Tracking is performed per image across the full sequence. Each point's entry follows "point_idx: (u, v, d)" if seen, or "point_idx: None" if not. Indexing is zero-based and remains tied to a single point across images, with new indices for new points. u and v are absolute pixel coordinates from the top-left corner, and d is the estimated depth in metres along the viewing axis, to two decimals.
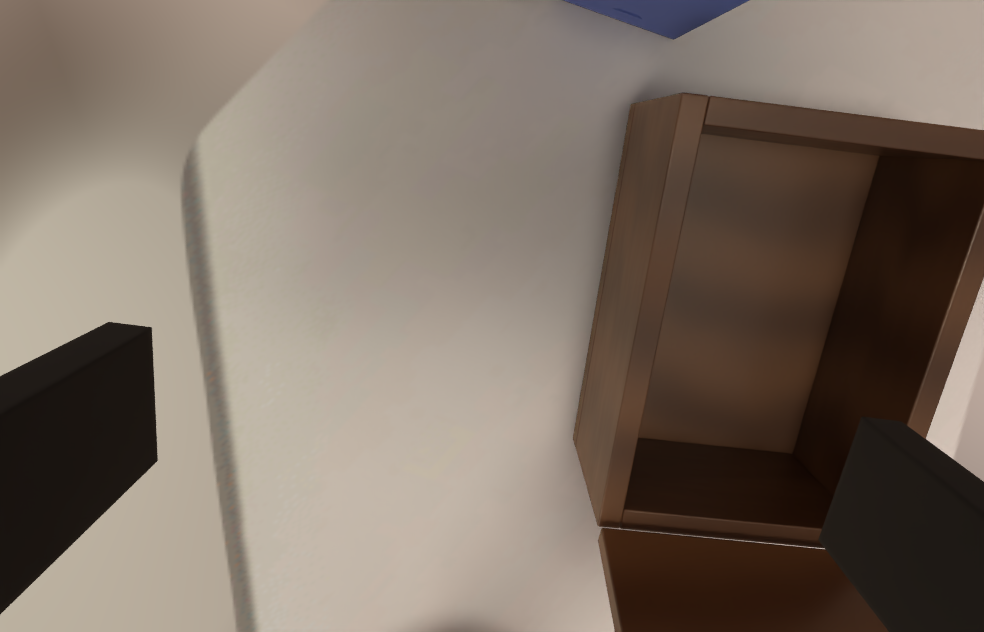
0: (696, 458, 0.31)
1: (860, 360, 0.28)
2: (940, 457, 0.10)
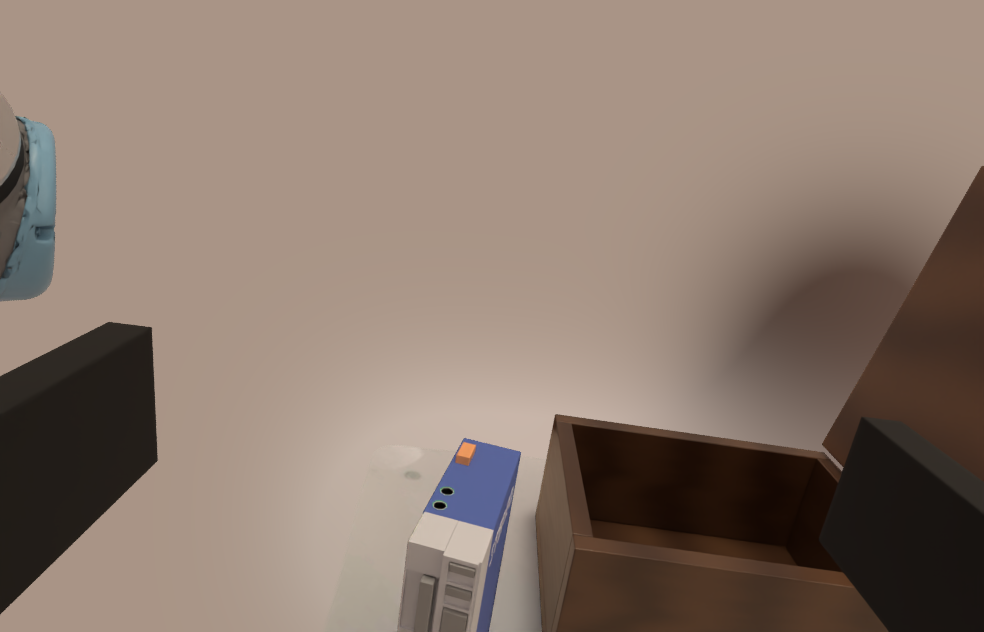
0: None
1: (699, 495, 0.40)
2: (940, 457, 0.10)
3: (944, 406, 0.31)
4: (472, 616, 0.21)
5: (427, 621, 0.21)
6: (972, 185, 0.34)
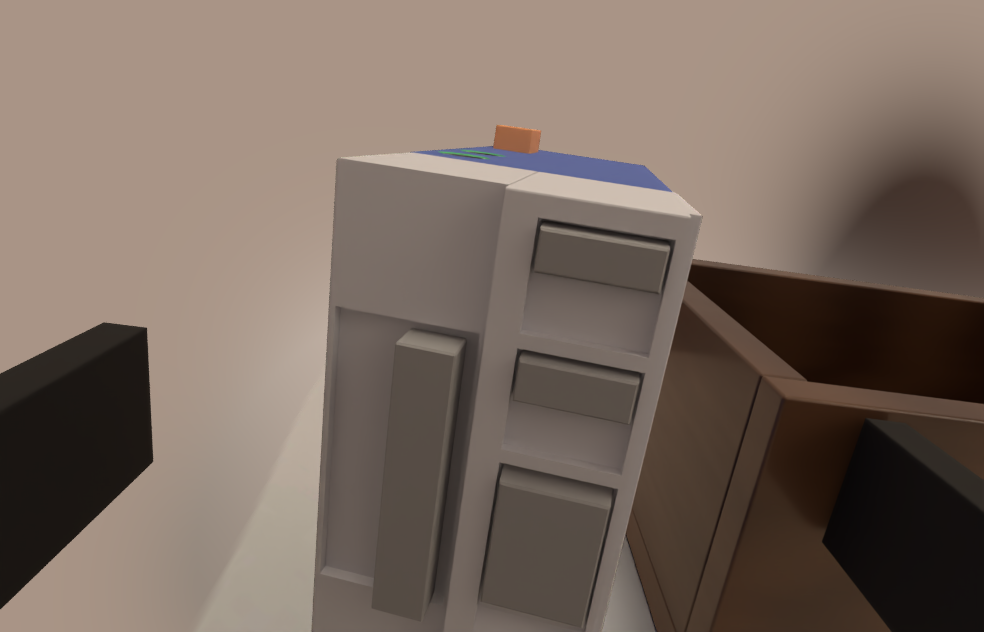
0: None
1: (869, 385, 0.24)
2: (945, 459, 0.10)
3: None
4: (628, 506, 0.05)
5: (429, 533, 0.05)
6: None
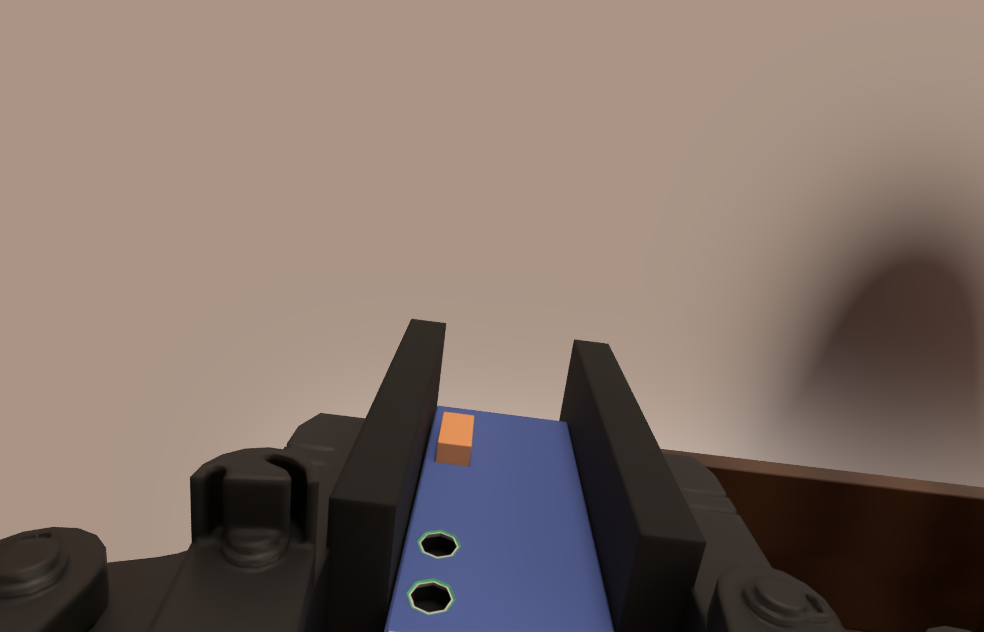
0: None
1: (838, 567, 0.25)
2: (609, 365, 0.12)
3: None
4: None
5: None
6: None
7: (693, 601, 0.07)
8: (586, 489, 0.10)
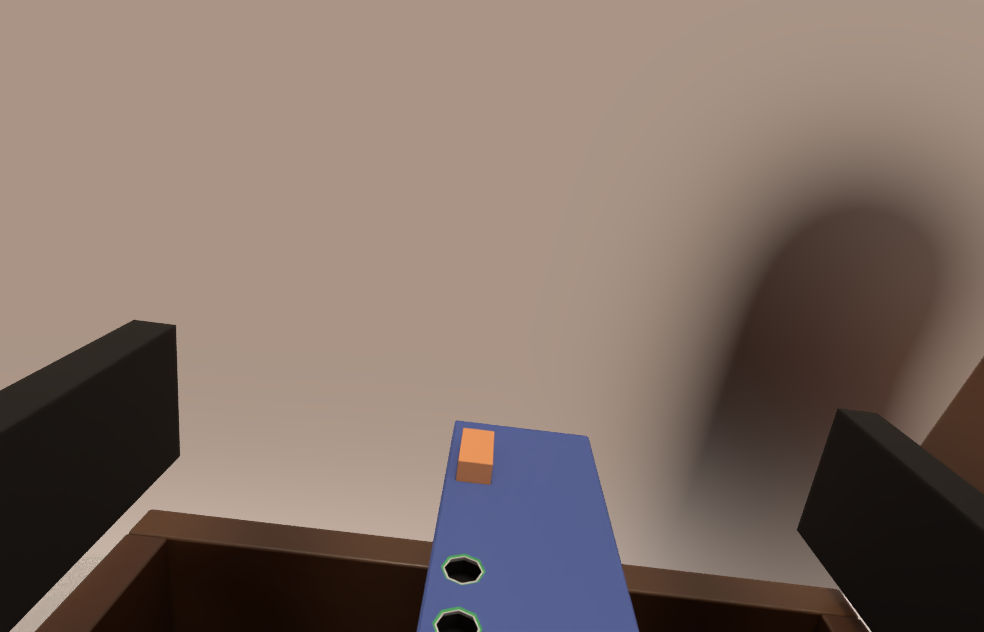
0: None
1: None
2: (912, 447, 0.10)
3: None
4: None
5: None
6: None
7: None
8: (954, 618, 0.08)
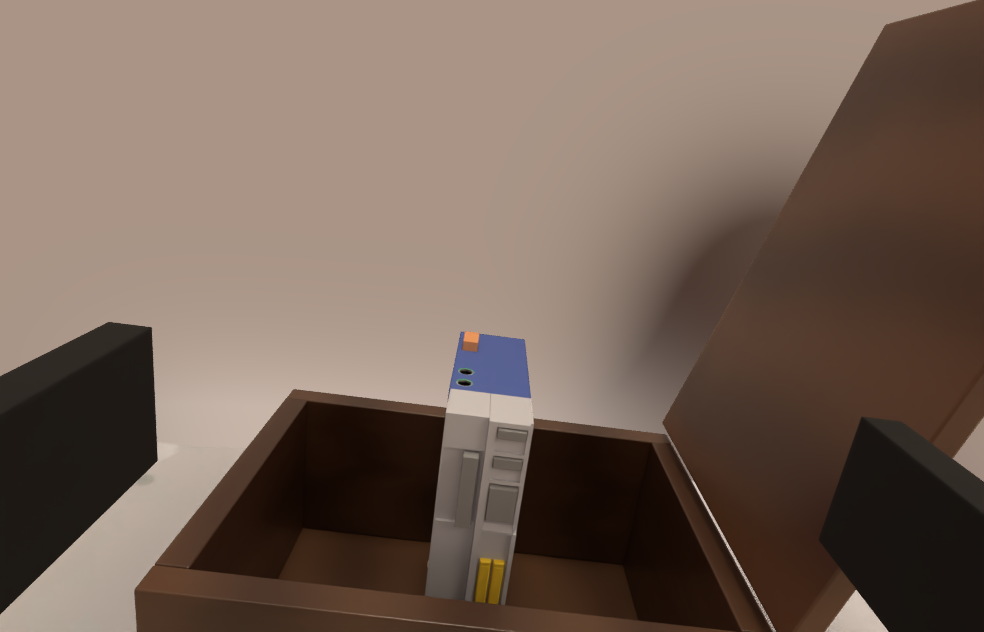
0: None
1: None
2: (940, 457, 0.10)
3: (800, 356, 0.20)
4: (522, 490, 0.19)
5: (471, 503, 0.19)
6: (871, 52, 0.24)
7: None
8: None
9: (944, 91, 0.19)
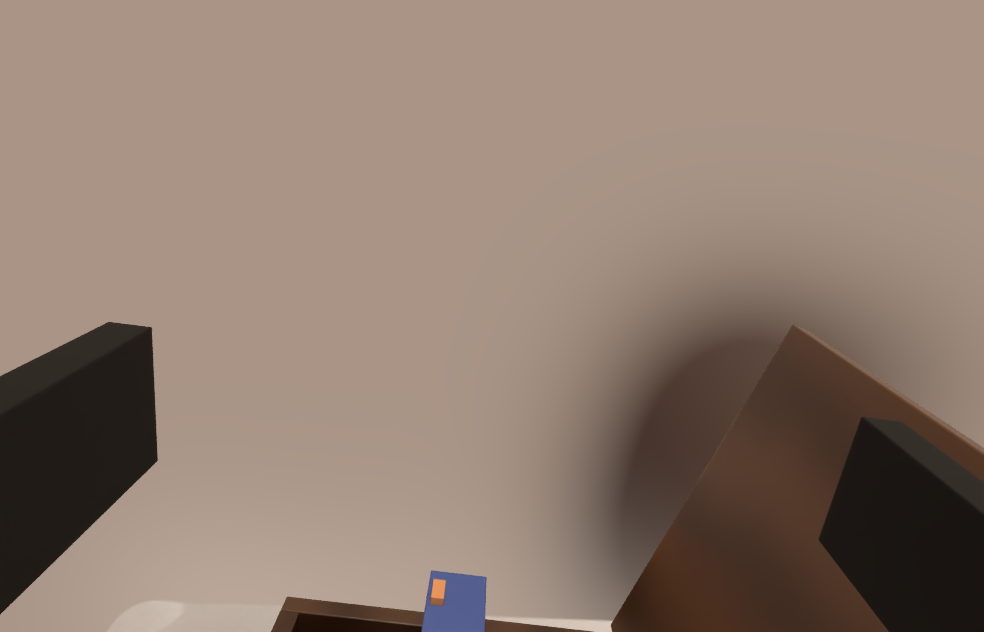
0: None
1: None
2: (940, 457, 0.10)
3: None
4: None
5: None
6: (780, 347, 0.28)
7: None
8: None
9: (821, 442, 0.23)
